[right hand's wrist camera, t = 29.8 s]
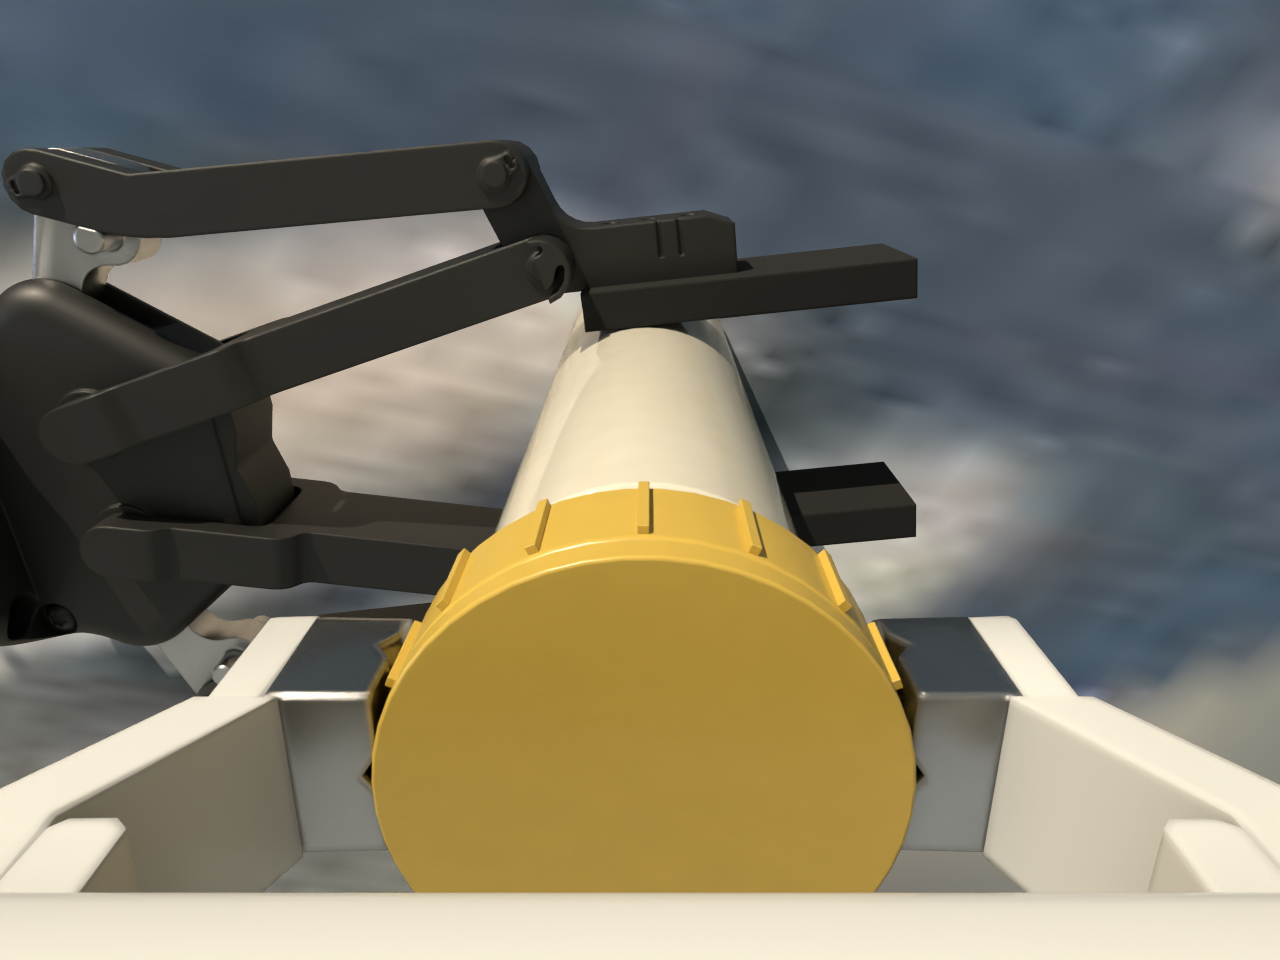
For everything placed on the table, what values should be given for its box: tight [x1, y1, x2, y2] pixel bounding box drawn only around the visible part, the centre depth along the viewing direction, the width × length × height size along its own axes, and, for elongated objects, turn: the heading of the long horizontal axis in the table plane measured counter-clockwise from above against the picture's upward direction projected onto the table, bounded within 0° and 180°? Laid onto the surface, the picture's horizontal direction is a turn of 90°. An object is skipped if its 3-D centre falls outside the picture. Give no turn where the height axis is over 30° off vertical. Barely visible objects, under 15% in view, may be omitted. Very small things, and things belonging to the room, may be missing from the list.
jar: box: [494, 309, 798, 537], centre depth 17 cm, size 4×4×17 cm
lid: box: [372, 481, 916, 893], centre depth 9 cm, size 5×5×2 cm
